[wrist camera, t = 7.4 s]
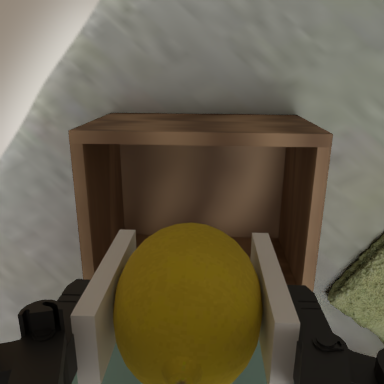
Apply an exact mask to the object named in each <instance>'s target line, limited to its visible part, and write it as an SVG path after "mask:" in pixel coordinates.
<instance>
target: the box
mask: <svg viewBox="0 0 384 384" xmlns="http://www.w3.org/2000/svg"><path fill="white" fill-rule="evenodd" d="M332 138H333V134H332V133H330V132H328V131H326V130H324V129H322V128H320V127H318V126H317V125H315V124H313V123H311V122H309V121H307V120H305V119H303V118H301V117H300V116H298V115H258V114H166V113H110V114H107V115H105V116H102V117H100V118H98V119H95V120H93V121H90V122H88V123H86V124H83V125H81V126H78V127H76V128H74V129H71V130H69V141H70V151H71V161H72V171H73V181H74V191H75V201H76V211H77V221H78V231H79V240H80V250H81V260H82V270H83V279H87V280H91V279H92V277H93V275H94V273H95V272H96V270H97V268H98V267H99V265H100V263H101V261H102V260H103V258H104V256H105V254H106V253H107V251H108V249H109V247H110V246H111V244H112V242H113V241H114V239H115V237H116V235H117V234H118V232H119V230H120V229H122V230H136V249H137V248H138V247H139V246H140V244H141V243H142V242H143V241H144V240H145V239H146V238H148V237H149V236H151V235H152V234H154V233H155V232H157V231H159V230H160V229H163V228H166V227H169V226H172V225H175V224H181V223H191V222H192V223H199V224H206V225H209V226H211V227H214V228H216V229H219V230H221V231H223V232H224V233H226V234H227V235H228V236H230V237H231V238H233V239H234V240H235V241H236V242H237V243H238V244H239V245H240V247H241V248H242V249H243V250H244V251H245V252H246V254H247V255H248V257H249V258H250V257H251V241H252V233H268V234H269V237H270V240H271V242H272V245H273V248H274V251H275V254H276V256H277V259H278V262H279V265H280V268H281V271H282V273H283V276H284V279H285V282H286V285H305V286H307V287H308V288H309V289H310V290H311V291H312V292H313V289H314V281H315V273H316V265H317V257H318V249H319V241H320V233H321V225H322V217H323V209H324V201H325V194H326V186H327V178H328V170H329V162H330V154H331V146H332Z"/></svg>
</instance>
